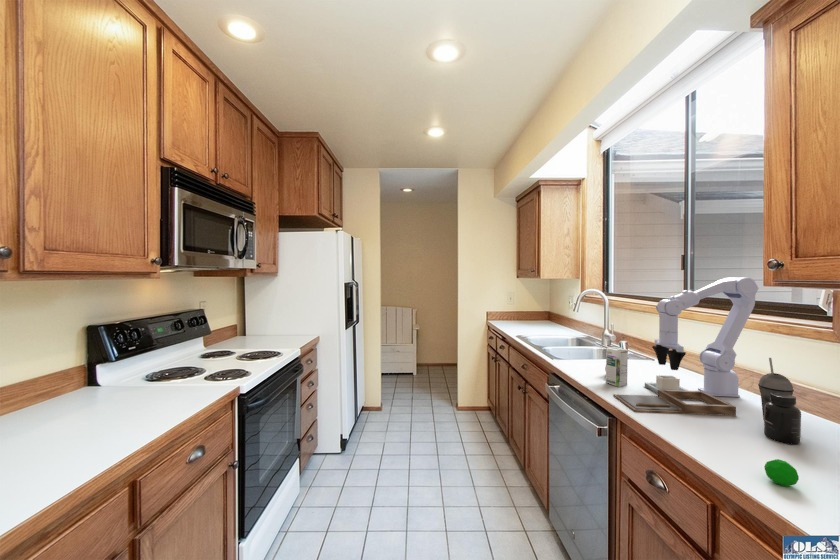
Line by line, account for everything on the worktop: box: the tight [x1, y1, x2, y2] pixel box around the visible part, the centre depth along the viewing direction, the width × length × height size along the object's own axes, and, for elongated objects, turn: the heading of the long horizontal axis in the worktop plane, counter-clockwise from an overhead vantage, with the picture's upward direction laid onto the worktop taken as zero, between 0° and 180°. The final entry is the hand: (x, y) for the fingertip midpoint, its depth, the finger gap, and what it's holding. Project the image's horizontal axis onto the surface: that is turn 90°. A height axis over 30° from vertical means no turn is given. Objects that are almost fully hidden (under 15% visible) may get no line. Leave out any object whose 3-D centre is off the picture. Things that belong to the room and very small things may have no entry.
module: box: [655, 374, 681, 390], centre depth 132 cm, size 6×4×5 cm, turn 84°
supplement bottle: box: [763, 392, 802, 446], centre depth 94 cm, size 7×7×12 cm
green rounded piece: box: [764, 458, 799, 487], centre depth 74 cm, size 5×5×5 cm
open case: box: [613, 390, 737, 417], centre depth 119 cm, size 30×15×3 cm, turn 85°
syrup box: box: [605, 346, 629, 387], centre depth 142 cm, size 6×6×14 cm
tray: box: [644, 382, 690, 395], centre depth 132 cm, size 11×11×2 cm
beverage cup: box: [758, 357, 794, 421], centre depth 101 cm, size 7×7×20 cm
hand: (668, 367), depth 132 cm, fingers open, 7 cm apart
